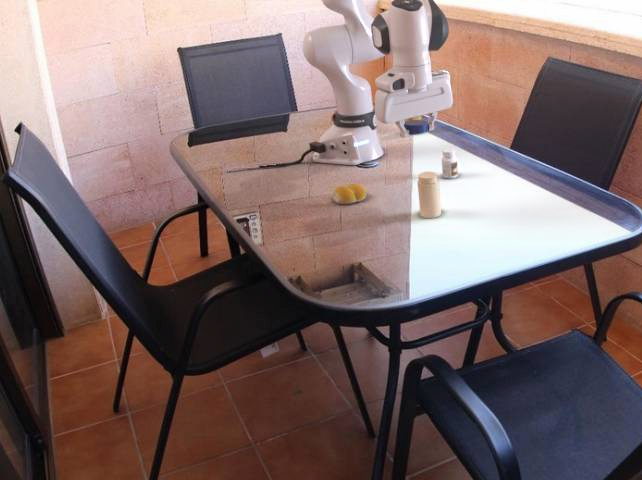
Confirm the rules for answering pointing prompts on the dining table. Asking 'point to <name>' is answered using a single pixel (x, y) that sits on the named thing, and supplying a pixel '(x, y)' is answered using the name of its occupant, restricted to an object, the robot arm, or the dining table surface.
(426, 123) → the lid
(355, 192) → the bread roll
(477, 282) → the dining table surface
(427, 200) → the beige cylinder
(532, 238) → the dining table surface
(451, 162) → the pill bottle
